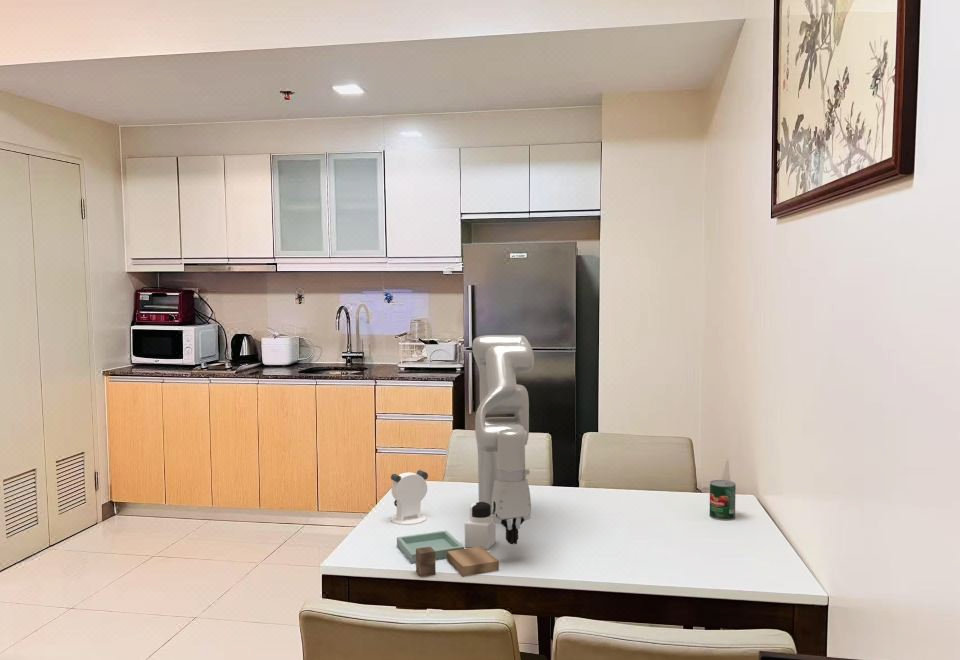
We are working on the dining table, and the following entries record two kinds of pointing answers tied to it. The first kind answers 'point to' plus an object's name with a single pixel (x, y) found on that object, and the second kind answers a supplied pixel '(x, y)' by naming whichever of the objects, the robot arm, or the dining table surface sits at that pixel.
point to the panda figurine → (409, 497)
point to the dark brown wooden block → (425, 561)
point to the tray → (428, 544)
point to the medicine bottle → (480, 526)
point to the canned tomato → (722, 499)
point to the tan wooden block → (472, 561)
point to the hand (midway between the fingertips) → (512, 542)
